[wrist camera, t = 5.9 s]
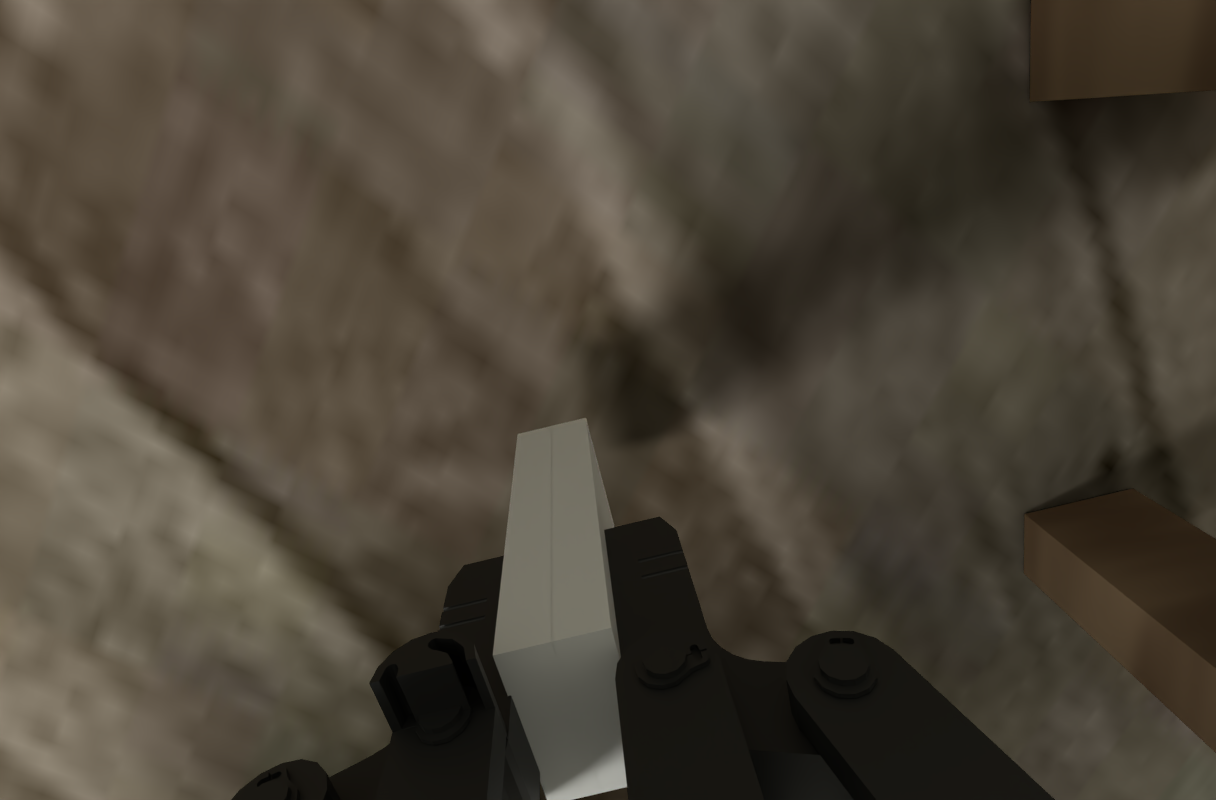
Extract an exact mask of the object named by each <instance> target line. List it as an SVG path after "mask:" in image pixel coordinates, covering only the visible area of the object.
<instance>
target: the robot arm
mask: <svg viewBox="0 0 1216 800" xmlns="http://www.w3.org/2000/svg"><path fill="white" fill-rule="evenodd" d="M443 609H444V612H442V616H441V621H440V625H439V627H440V630H439V631H438V632H434V633H429V634H427V635H424V636H421V637H418V638H416V639H413V640H411V641H409V642H408V643H406V644H405V645H403V646H402V647H400V648H398V649H397V650H395V651H394V652H393V653H392V654H391V655H390V656H389V657H388V658H387V659H386V660H385V661H384V662H383V663H382V664H381V665H380V666H379V667H378V668H377V670H376V672H375V674H374V676H373V677H372V679H371V681H370V683H369V684H370V686H371V688H372V690H373V692H374V694H375V696H376V698H377V700H378V702H379V705H380V707H381V709H382V711H383V713H384V715H385V717H386V719H387V721H388V723H389V725H390V728H391V730H392V732H393V733H392V737H391V741H390V744H389V745H387V746H386V747H385V748H383V749H382V750H380V751H378V752H377V753H375V754H373V755H372V756H370V757H368V758H366V759H364V760H363V761H361V762H359V763H357V764H355V765H353V766H351V767H349V768H347V769H345V770H343V771H341V772H339V773H337V774H335V775H333V776H331V777H328V775H327V773H326V772H325V771H324V770H323V769H322V767H321V766H320V765H319V764H318V763H317V762H312V761H308V760H303V759H301V760H296V761H291V762H286V763H282V764H280V765H278V766H276V767H274V768H272V769H270V770H268V771H266V772H263V773H261V774H260V775H259V776H257V777H256V778H255V779H253V780H252V781H251V782H250V783H248V784H247V785H246V786H244V787H243V788H242V789H241V790H239V792H238V793H237V794H236V795H235V796H234V797H233V798H232V800H540V783H541V785H542V788H543V791H544V793H545V796H546V799H547V800H574V799H578V798H582V797H586V796H591V795H595V794H599V793H603V792H608V791H612V790H616V789H621V788H625V787H627V791H628V800H1055V799H1054V798H1052V797H1051V796H1050V795H1049V794H1048V793H1047V792H1046V791H1045V790H1044V789H1043V788H1042V787H1041V786H1040V785H1038V784H1037V783H1036V782H1035V781H1034V780H1033V779H1032V778H1031V777H1030V776H1029V775H1028V774H1027V773H1026V772H1025V771H1023V770H1022V769H1021V768H1020V767H1019V766H1018V765H1017V764H1016V763H1015V762H1014V761H1013V760H1012V759H1011V758H1009V757H1008V756H1007V755H1006V754H1005V753H1004V752H1003V751H1002V750H1001V749H1000V748H999V747H998V746H997V745H995V744H994V743H993V742H992V741H991V740H990V739H989V738H988V737H987V736H986V735H985V734H984V733H983V732H981V731H980V730H979V729H978V728H977V727H976V726H975V725H974V724H973V723H972V722H971V721H970V720H969V719H967V718H966V717H965V716H964V715H963V714H962V713H961V712H960V711H959V710H958V709H957V708H956V707H955V706H953V705H952V704H951V703H950V702H949V701H948V700H947V699H946V698H945V697H944V696H943V695H942V694H941V693H939V692H938V691H937V690H936V689H935V688H934V687H933V686H932V685H931V684H930V683H929V682H928V681H927V680H925V679H924V678H923V677H922V676H921V675H920V674H919V673H918V672H917V671H916V670H915V669H914V668H913V667H911V666H910V665H909V664H908V663H907V662H906V661H905V660H904V659H903V658H902V657H901V656H900V655H899V654H897V653H896V652H895V651H894V650H893V649H892V648H890V647H889V646H887V645H885V644H884V643H882V642H881V641H879V640H878V639H876V638H874V637H871V636H867V635H864V634H861V633H857V632H854V631H830V632H826V633H822V634H818V635H815V636H811V637H810V638H808V639H807V640H805V641H804V642H802V643H801V644H799V645H798V646H796V647H795V649H794V651H793V652H792V654H791V655H790V657H789V659H788V660H787V662H763V661H755V660H747V659H744V658H741V657H738V656H735V655H733V654H731V653H729V652H728V651H726V650H724V649H723V648H721V647H720V646H719V645H718V644H717V643H716V642H715V641H714V640H713V639H712V637H711V635H710V633H709V631H708V629H707V627H706V623H705V620H704V617H703V614H702V611H701V608H700V604H699V601H698V598H697V595H696V592H695V588H694V585H693V582H692V579H691V576H690V572H689V569H688V566H687V563H686V560H685V556H684V553H683V550H682V547H681V544H680V540H679V537H678V534H677V531H676V530H675V529H674V528H673V527H672V526H671V525H669V524H668V523H667V522H666V521H664V520H663V519H662V518H661V517H656V518H652V519H648V520H643V521H639V522H635V523H631V524H627V525H622V526H618V527H614V523H613V519H612V515H611V511H610V507H609V504H608V500H607V496H606V492H605V488H604V485H603V481H602V477H601V473H600V469H599V466H598V462H597V458H596V454H595V450H594V446H593V443H592V439H591V435H590V431H589V427H588V424H587V420H586V418H582V419H578V420H574V421H570V422H566V423H562V424H558V425H553V426H549V427H545V428H541V429H537V430H533V431H528V432H524V433H520V434H518V436H517V445H516V453H515V462H514V471H513V480H512V489H511V498H510V506H509V515H508V524H507V533H506V542H505V551H504V556H501V557H497V558H493V559H489V560H484V561H480V562H476V563H472V564H468V565H464V566H463V567H462V569H461V570H460V571H459V573H458V574H457V576H456V577H455V578H454V580H453V581H452V582H451V584H450V585H449V586H448V590H447V594H446V599H445V603H444V608H443Z"/></svg>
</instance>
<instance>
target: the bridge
mask: <svg viewBox="0 0 1216 800" xmlns="http://www.w3.org/2000/svg"><path fill="white" fill-rule="evenodd" d="M1209 90H1216V0H1031V48H1030V102H1036V101H1052V100H1068V99H1083V98H1099V97H1115V96H1131V95H1146V94H1162V93H1178V92H1193V91H1209ZM1024 574H1025V575H1026V576H1027V577H1028V578H1029V579H1030V580H1031V581H1033V582H1034V583H1035V584H1036V585H1037V586H1038V587H1039V588H1040V589H1041V590H1042V591H1043V592H1044V593H1045V594H1046V595H1047V596H1049V597H1050V598H1051V599H1052V600H1053V601H1054V602H1055V603H1056V604H1057V605H1058V606H1059V607H1060V608H1061V609H1062V610H1064V611H1065V612H1066V613H1067V614H1068V615H1069V616H1070V617H1071V618H1072V619H1073V620H1074V621H1075V622H1076V623H1077V624H1079V625H1080V626H1081V627H1082V628H1083V629H1084V630H1085V631H1086V632H1087V633H1088V634H1089V635H1090V636H1091V637H1092V638H1094V639H1095V640H1096V641H1097V642H1098V643H1099V644H1100V645H1101V646H1102V647H1103V648H1104V649H1105V650H1106V651H1107V652H1109V653H1110V654H1111V655H1112V656H1113V657H1114V658H1115V659H1116V660H1117V661H1118V662H1119V663H1120V664H1121V665H1122V666H1123V667H1125V668H1126V669H1127V670H1128V671H1129V672H1130V673H1131V674H1132V675H1133V676H1134V677H1135V678H1136V679H1137V680H1138V681H1140V682H1141V683H1142V684H1143V685H1144V686H1145V687H1146V688H1147V689H1148V690H1149V691H1150V692H1151V693H1152V694H1153V695H1155V696H1156V697H1157V698H1158V699H1159V700H1160V701H1161V702H1162V703H1163V704H1164V705H1165V706H1166V707H1167V708H1168V709H1170V710H1171V711H1172V712H1173V713H1174V714H1175V715H1176V716H1177V717H1178V718H1179V719H1180V720H1181V721H1182V722H1183V723H1184V724H1186V725H1187V726H1188V727H1189V728H1190V729H1191V730H1192V731H1193V732H1194V733H1195V734H1196V735H1197V736H1198V737H1199V738H1201V739H1202V740H1203V741H1204V742H1205V743H1206V744H1207V745H1208V746H1209V747H1210V748H1211V749H1212V750H1213V751H1214V752H1216V539H1215V538H1213V537H1211V536H1210V535H1208V534H1206V533H1205V532H1203V531H1202V530H1200V529H1198V528H1197V527H1195V526H1193V525H1192V524H1190V523H1189V522H1187V521H1185V520H1184V519H1182V518H1180V517H1179V516H1177V515H1175V514H1174V513H1172V512H1171V511H1169V510H1167V509H1166V508H1164V507H1162V506H1161V505H1159V504H1158V503H1156V502H1154V501H1153V500H1151V499H1149V498H1148V497H1146V496H1144V495H1143V494H1141V493H1140V492H1138V491H1136V490H1135V489H1129V490H1124V491H1120V492H1116V493H1112V494H1107V495H1103V496H1099V497H1095V498H1091V499H1086V500H1082V501H1078V502H1074V503H1070V504H1065V505H1061V506H1057V507H1053V508H1048V509H1044V510H1040V511H1036V512H1032V513H1027V514H1025V516H1024Z"/></svg>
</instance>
